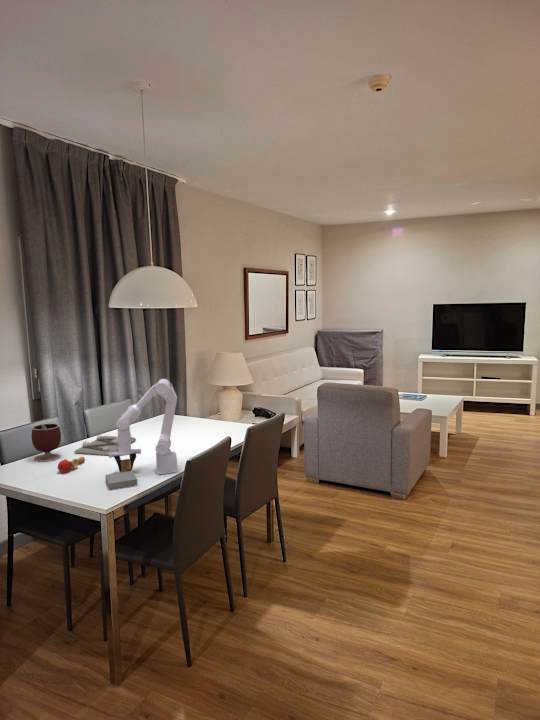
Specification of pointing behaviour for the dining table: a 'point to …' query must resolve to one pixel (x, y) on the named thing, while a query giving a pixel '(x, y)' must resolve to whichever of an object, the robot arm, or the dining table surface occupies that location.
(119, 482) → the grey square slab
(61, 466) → the kendama
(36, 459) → the mate gourd
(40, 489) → the dining table surface
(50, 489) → the dining table surface
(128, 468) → the walnut block
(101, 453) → the grey piece
